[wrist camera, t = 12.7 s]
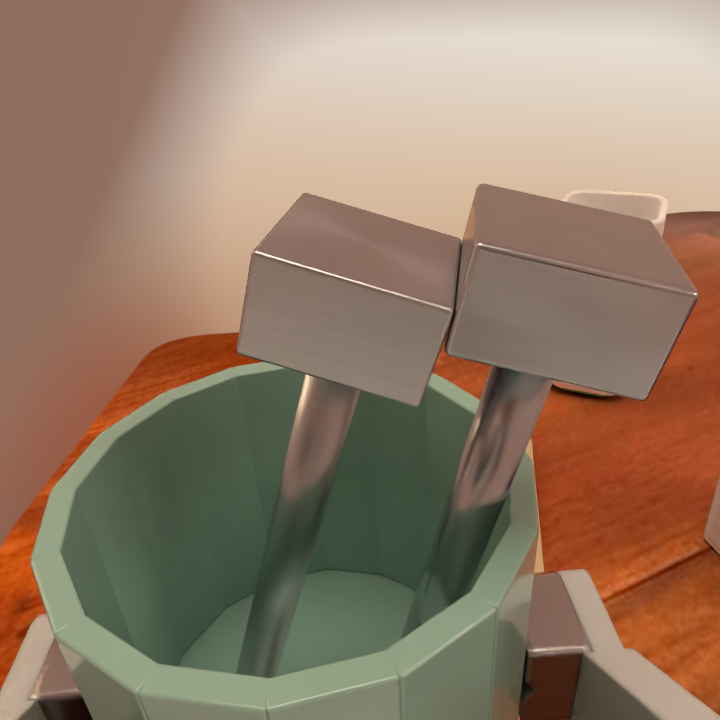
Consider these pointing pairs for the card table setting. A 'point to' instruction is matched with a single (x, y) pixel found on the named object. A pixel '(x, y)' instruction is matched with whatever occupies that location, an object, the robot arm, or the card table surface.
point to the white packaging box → (714, 522)
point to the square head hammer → (334, 365)
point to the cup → (623, 204)
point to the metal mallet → (543, 346)
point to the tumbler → (245, 552)
